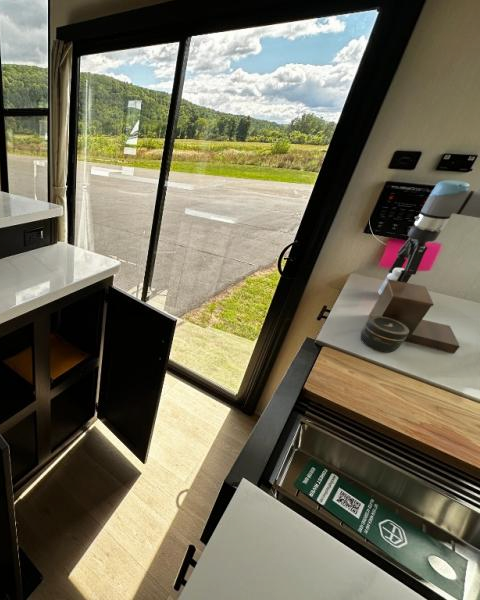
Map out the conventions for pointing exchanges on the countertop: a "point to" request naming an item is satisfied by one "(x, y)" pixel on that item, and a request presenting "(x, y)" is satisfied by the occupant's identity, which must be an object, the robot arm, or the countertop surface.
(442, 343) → the step shelf
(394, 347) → the jar
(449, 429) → the countertop surface
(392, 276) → the pill bottle
